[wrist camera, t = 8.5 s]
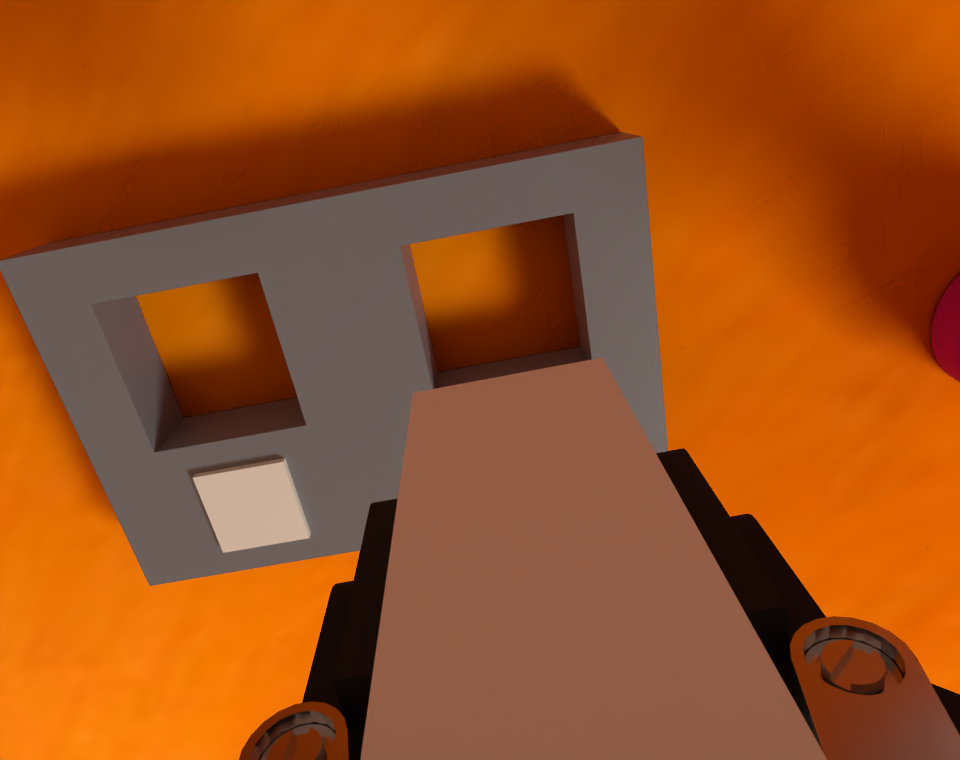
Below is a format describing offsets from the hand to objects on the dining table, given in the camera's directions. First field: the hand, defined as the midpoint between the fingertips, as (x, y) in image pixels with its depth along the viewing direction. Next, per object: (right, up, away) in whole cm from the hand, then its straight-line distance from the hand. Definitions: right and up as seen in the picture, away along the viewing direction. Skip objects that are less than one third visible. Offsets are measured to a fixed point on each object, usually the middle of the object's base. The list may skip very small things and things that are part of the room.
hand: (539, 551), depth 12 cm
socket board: (-5, +4, +16) cm, 17 cm away
